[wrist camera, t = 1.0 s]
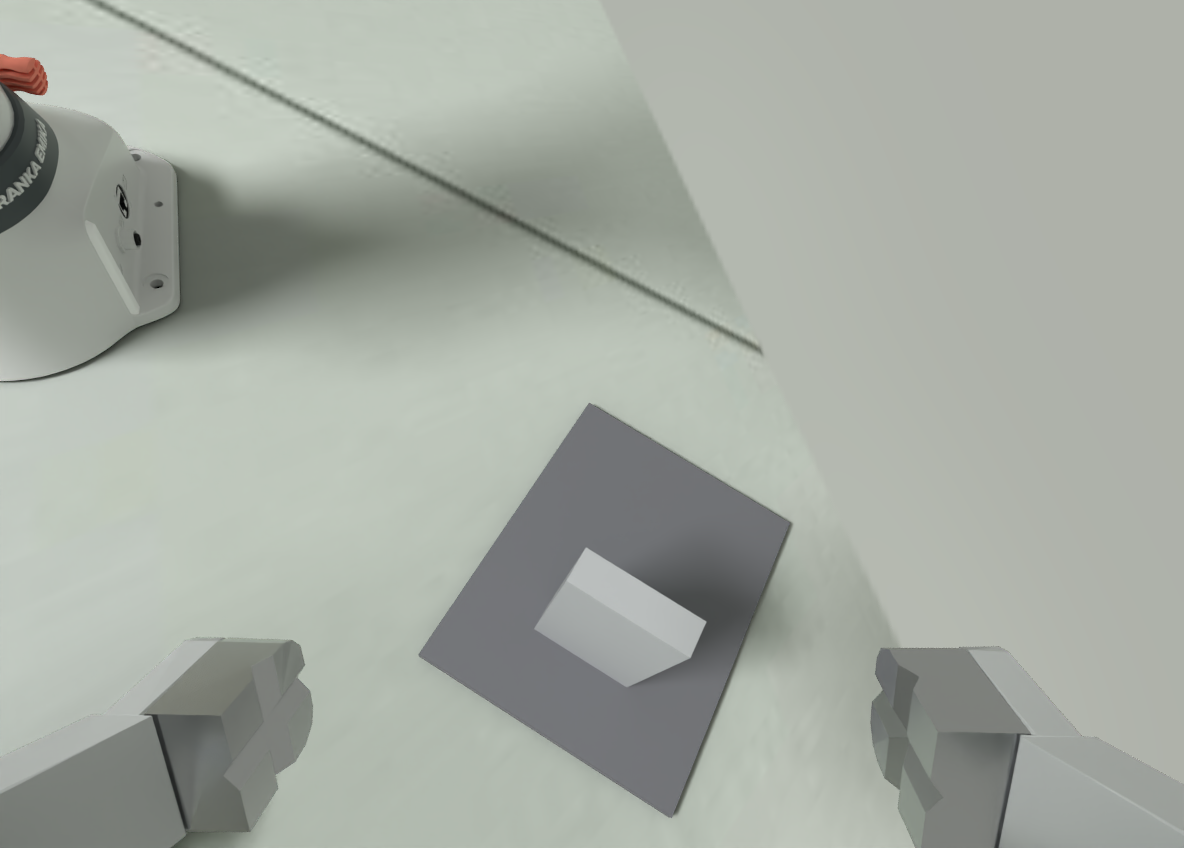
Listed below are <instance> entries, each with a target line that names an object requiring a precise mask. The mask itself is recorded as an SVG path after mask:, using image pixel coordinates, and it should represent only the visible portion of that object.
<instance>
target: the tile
mask: <svg viewBox="0 0 1184 848" xmlns="http://www.w3.org/2000/svg"><path fill="white" fill-rule="evenodd" d="M705 624H706V621H705V620H703V619H701V618H700V617H698V616H696V615H695V614H693V613H692V612H690V611H688V610H687V609H685V608H684V607H682V606H680V605H679V604H677V603H675V602H674V601H672V600H671V599H669V598H667V597H666V596H664V595H662V594H661V593H659V592H658V591H656V590H654V589H653V588H651V587H649V586H648V585H646V584H645V583H643V582H641V581H640V580H638V579H636V578H635V577H633V576H632V575H630V574H628V573H627V572H625V571H623V570H622V569H620V568H619V567H617V566H615V565H614V564H612V563H611V562H609V561H607V560H606V559H604V558H602V557H601V556H599V555H598V554H596V553H594V552H593V551H591V550H589V549H588V548H585V550H584V551H583V553H582V554H581V556H580V557H579V559H578V560H577V562H576V563H575V565H574V566H573V568H572V569H571V571H570V572H569V574H568V575H567V577H566V578H565V580H564V581H563V583H562V584H561V586H560V587H559V589H558V590H557V592H556V593H555V595H554V597H553V598H552V600H551V601H550V603H549V604H548V606H547V608H546V609H545V611H544V613H543V614H542V616H541V618H540V620H539V621H538V623H537V625H536V626H535V628H534V629H535V630H536V631H538V632H540V633H541V634H543V635H544V636H546V637H548V638H549V639H551V640H552V641H554V642H555V643H557V644H559V645H560V646H562V647H563V648H565V649H567V650H568V651H570V652H571V653H573V654H574V655H576V656H578V657H579V658H581V659H582V660H584V661H586V662H587V663H589V664H590V665H592V666H593V667H595V668H597V669H598V670H600V671H601V672H603V673H605V674H606V675H608V676H609V677H611V678H612V679H614V680H616V681H617V682H619V683H620V684H622V685H624V686H625V687H629V686H631V685H633V684H636V683H638V682H640V681H642V680H644V679H646V678H649V677H651V676H653V675H655V674H657V673H659V672H661V671H664V670H666V669H668V668H670V667H672V666H674V665H677V664H679V663H681V662H683V661H685V660H687V659H690V658H691V656H692V653H693V651H694V649H695V647H696V644H697V642H698V640H699V638H700V635H701V633H702V631H703V628H704V626H705Z"/></svg>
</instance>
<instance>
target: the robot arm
mask: <svg viewBox="0 0 1184 848" xmlns="http://www.w3.org/2000/svg"><path fill="white" fill-rule="evenodd" d="M46 79H47V75H46V72H44V68H43V66H42V65H40V62H39V61H38V60H35V58H28V57H20V58H12V57H8V56H6V55H3V54H0V381H13V380H24V379H31V378H37V377H42V376H46V375H50V374H54V373H57V372H60V371H64V370H66V369H69V368H72V367H74V366H77V365H79V364H81V363H83V362H85V361H88V360H90V359H91V358H93V357H95V356H97V355H98V354H100V353H102V352H103V351H105V350H106V349H108V348H109V347H111V346H112V345H113V344H114V343H116V342H117V341H118V340H119V339H121V338H122V337H123V336H125V335H126V334H127V333H129V332H130V331H132V330H133V329H135V328H137V327H139V326H142V325H145V324H147V323H150V322H153V321H155V320H158V319H160V318H163V317H165V316H167V315H169V314H171V313H172V312H174V311H175V310H176V309H177V308H178V306H179V303H180V281H179V239H178V198H177V176H176V172H175V170H174V169H173V167H172V165H171V164H170V163H169V162H168V161H166V160H164V159H162V158H161V157H159V156H157V155H155V154H152V153H150V152H147V151H145V150H142V149H139V148H135V147H132V146H128V145H126V144H125V142H124V141H123V139H122V138H121V136H120V135H119V134H118V132H117V131H116V130H114V129H113V128H112V127H111V126H109V125H108V124H107V123H105V122H104V121H102V120H100V119H98V118H96V117H93V116H91V115H88V114H85V113H82V112H79V111H75V110H71V109H67V108H63V107H57V106H51V105H45V104H38V103H30V102H25V101H23V100H22V99H21V98H20V97H19V96H18V95H17V94H15V93H14V91H24V92H27V93H30V94H35V95H44V94H45V93H46V92H47V88H48V81H47V80H46ZM157 286H162V287H161V288H157V289H155V288H156V287H157ZM304 666H305V663H304V659H303V655H302V651H301V647H300V645H299V644H297V643H296V642H294V641H293V640H280V639H252V638H218V637H196V638H192V639H188V640H185V641H183V642H182V643H181V644H180V645H179V646H178V647H177V648H176V649H175V650H173V651H172V652H171V653H170V654H169V655H168V656H167V657H166V658H165V659H164V660H162V661H161V662H160V663H159V664H158V665H157V666H156V667H155V668H154V669H152V670H151V671H150V672H149V673H148V674H147V675H146V676H145V677H144V678H143V679H141V680H140V681H139V682H138V683H137V684H136V685H135V686H134V687H133V688H131V689H130V690H129V691H128V692H127V693H126V694H125V695H124V696H123V697H122V698H120V699H119V700H118V701H117V702H116V703H115V704H114V705H113V706H112V707H110V708H109V709H108V710H107V711H106V712H105V713H104V714H91V715H89V716H87V717H85V718H83V719H81V720H79V721H76V722H74V723H72V724H70V725H68V726H66V727H64V728H61V729H59V730H57V731H55V732H53V733H51V734H49V735H46V736H44V737H42V738H40V739H38V740H36V741H34V742H31V743H29V744H27V745H25V746H23V747H21V748H19V749H16V750H14V751H12V752H10V753H8V754H6V755H4V756H1V757H0V848H171V847H172V846H173V845H175V844H176V843H177V842H178V841H180V840H181V839H182V838H184V837H185V836H186V832H250V831H251V830H252V828H253V827H254V825H255V824H256V822H257V820H258V819H259V817H260V816H261V814H262V813H263V811H264V810H265V808H266V807H267V805H268V803H269V802H270V800H271V799H272V797H273V796H274V794H275V793H276V791H277V790H278V785H277V778H276V774H278V773H279V772H281V771H282V770H284V769H285V768H287V767H288V766H290V765H291V764H293V763H294V762H295V761H296V760H297V758H298V757H299V755H300V753H301V752H302V750H303V748H304V747H305V745H306V742H307V739H308V736H309V732H310V729H311V726H312V718H313V704H312V698H311V693H310V690H309V689H308V688H307V687H306V686H305V685H304V684H303V683H302V682H301V681H300V680H299V679H298V676H299V674H300V673H301V671H302V669H303V668H304ZM875 675H876V677H877V679H878V681H879V683H880V685H881V687H882V688H883V691H882V692H881V693H880V694H879V695H878V696H877V697H876V698H875V699H874V700H873V701H872V710H871V731H872V740H873V747H874V750H875V754H876V757H877V761H878V764H879V766H880V768H881V771H882V773H883V776H884V778H885V779H886V780H888V781H889V782H890V783H891V784H893V785H894V786H895V787H896V788H898V789H899V790H900V793H899V802H898V810H899V812H900V814H901V817H902V819H903V821H904V823H905V825H906V828H907V830H908V832H909V834H910V837H911V839H912V841H913V843H914V846H915V848H1184V784H1182V783H1180V782H1179V781H1177V780H1175V779H1173V778H1171V777H1169V776H1167V775H1166V774H1164V773H1162V772H1160V771H1158V770H1156V769H1154V768H1153V767H1151V766H1149V765H1147V764H1145V763H1143V762H1141V761H1140V760H1138V759H1136V758H1134V757H1132V756H1130V755H1129V754H1126V753H1125V752H1123V751H1121V750H1119V749H1117V748H1116V747H1114V746H1112V745H1110V744H1108V743H1106V742H1104V741H1102V740H1101V739H1099V738H1097V737H1082V735H1081V734H1080V733H1079V732H1078V731H1077V730H1076V729H1075V727H1074V726H1073V725H1072V724H1071V723H1070V722H1069V721H1068V719H1067V718H1066V717H1065V716H1064V715H1063V714H1062V713H1061V711H1060V710H1059V709H1058V708H1057V707H1056V706H1055V704H1054V703H1053V702H1052V701H1051V700H1050V699H1049V697H1048V696H1047V695H1046V694H1045V693H1044V692H1043V691H1042V689H1041V688H1040V687H1039V686H1038V685H1037V684H1036V683H1035V681H1034V680H1033V679H1032V678H1031V677H1030V676H1029V675H1028V673H1027V672H1026V671H1025V670H1024V669H1023V668H1022V666H1021V665H1020V664H1019V663H1018V662H1017V661H1016V660H1015V658H1014V657H1013V656H1012V655H1011V654H1010V653H1009V652H1008V651H1007V650H1005V649H1003V648H1001V647H999V646H998V647H959V648H881V650H880V652H879V654H878V657H877V663H876V671H875Z"/></svg>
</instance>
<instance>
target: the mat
mask: <svg viewBox="0 0 1184 848" xmlns="http://www.w3.org/2000/svg"><path fill="white" fill-rule="evenodd" d="M789 524H790V522H788V521H786V520H785V519H783V518H781V517H780V516H778V515H776V514H775V513H773V512H771V511H770V510H768V509H766V508H765V507H763V506H761V505H760V504H758V503H756V502H755V501H753V500H751V499H750V498H748V497H746V496H745V495H743V494H741V493H740V492H738V491H736V490H734V489H733V488H731V487H729V486H728V485H726V484H724V483H723V482H721V481H719V480H718V479H716V478H714V477H713V476H711V475H709V474H708V473H706V472H704V471H703V470H701V469H699V468H698V467H696V466H694V465H693V464H691V463H689V462H688V461H686V460H684V459H683V458H681V457H679V456H678V455H676V454H674V453H673V452H671V451H669V450H668V449H666V448H664V447H663V446H661V445H659V444H658V443H656V442H654V441H653V440H651V439H649V438H647V437H646V436H644V435H642V434H641V433H639V432H637V431H636V430H634V429H632V428H631V427H629V426H627V425H626V424H624V423H622V422H621V421H619V420H617V419H616V418H614V417H612V416H611V415H609V414H607V413H606V412H604V411H602V410H601V409H599V408H597V407H596V406H594V405H592V404H591V403H589V404H588V405H587V407H586V408H585V410H584V411H583V413H582V414H581V416H580V417H579V419H578V420H577V422H576V423H575V424H574V426H573V427H572V429H571V430H570V432H569V433H568V435H567V436H566V438H565V439H564V441H563V442H562V444H561V445H560V447H559V448H558V450H557V451H556V452H555V454H554V455H553V457H552V458H551V460H550V461H549V463H548V464H547V466H546V467H545V469H544V470H543V472H542V473H541V475H540V476H539V478H538V479H537V481H536V482H535V483H534V485H533V486H532V488H531V489H530V491H529V492H528V494H527V495H526V497H525V498H524V500H523V501H522V503H521V504H520V506H519V507H518V509H517V510H516V512H515V513H514V514H513V516H512V517H511V519H510V520H509V522H508V523H507V525H506V526H505V528H504V529H503V531H502V532H501V534H500V535H499V537H498V538H497V540H496V541H495V542H494V544H493V545H492V547H491V548H490V550H489V551H488V553H487V554H486V556H485V557H484V559H483V560H482V562H481V563H480V565H479V566H478V568H477V569H476V571H475V572H474V573H473V575H472V576H471V578H470V579H469V581H468V582H467V584H466V585H465V587H464V588H463V590H462V591H461V593H460V594H459V596H458V597H457V599H456V600H455V602H454V603H453V604H452V606H451V607H450V609H449V610H448V612H447V613H446V615H445V616H444V618H443V619H442V621H441V622H440V624H439V625H438V627H437V628H436V630H435V631H434V632H433V634H432V635H431V637H430V638H429V640H428V641H427V643H426V644H425V646H424V647H423V649H422V650H421V652H420V653H419V657H421V658H422V659H424V660H426V661H427V662H429V663H430V664H432V665H433V666H435V667H436V668H438V669H440V670H441V671H443V672H444V673H446V674H447V675H449V676H450V677H452V678H454V679H455V680H457V681H458V682H460V683H461V684H463V685H464V686H466V687H467V688H469V689H471V690H472V691H474V692H475V693H477V694H478V695H480V696H481V697H483V698H485V699H486V700H488V701H489V702H491V703H492V704H494V705H495V706H497V707H499V708H500V709H502V710H503V711H505V712H506V713H508V714H509V715H511V716H512V717H514V718H516V719H517V720H519V721H520V722H522V723H523V724H525V725H526V726H528V727H530V728H531V729H533V730H534V731H536V732H537V733H539V734H540V735H542V736H544V737H545V738H547V739H548V740H550V741H551V742H553V743H554V744H556V745H557V746H559V747H561V748H562V749H564V750H565V751H567V752H568V753H570V754H571V755H573V756H575V757H576V758H578V759H579V760H581V761H582V762H584V763H585V764H587V765H588V766H590V767H592V768H593V769H595V770H596V771H598V772H599V773H601V774H602V775H604V776H606V777H607V778H609V779H610V780H612V781H613V782H615V783H616V784H618V785H620V786H621V787H623V788H624V789H626V790H627V791H629V792H630V793H632V794H633V795H635V796H637V797H638V798H640V799H641V800H643V801H644V802H646V803H647V804H649V805H651V806H652V807H654V808H655V809H657V810H658V811H660V812H661V813H663V814H665V815H666V816H668V817H671V818H672V816H673V813H674V811H675V809H676V806H677V804H678V801H679V799H680V796H681V794H682V791H683V789H684V786H685V784H686V781H687V779H688V776H689V774H690V771H691V769H692V766H693V764H694V761H695V759H696V756H697V754H698V751H699V749H700V746H701V744H702V741H703V739H704V736H705V734H706V731H707V729H708V726H709V724H710V721H711V719H712V716H713V714H714V711H715V709H716V706H717V704H718V701H719V699H720V696H721V694H722V691H723V689H724V686H725V684H726V681H727V679H728V676H729V674H730V671H731V669H732V666H733V664H734V661H735V659H736V656H737V654H738V651H739V649H740V646H741V644H742V641H743V639H744V636H745V634H746V631H747V629H748V626H749V624H750V621H751V619H752V616H753V614H754V611H755V609H756V606H757V604H758V601H759V599H760V596H761V594H762V591H763V589H764V586H765V584H766V581H767V579H768V576H769V574H770V571H771V569H772V566H773V564H774V561H775V559H776V557H777V554H778V552H779V549H780V547H781V544H782V542H783V539H784V537H785V534H786V532H787V529H788V527H789ZM585 548H588V549H589V550H591V551H593V552H594V553H596V554H598V555H599V556H601V557H602V558H604V559H606V560H607V561H609V562H611V563H612V564H614V565H615V566H617V567H619V568H620V569H622V570H623V571H625V572H627V573H628V574H630V575H632V576H633V577H635V578H636V579H638V580H640V581H641V582H643V583H645V584H646V585H648V586H649V587H651V588H653V589H654V590H656V591H658V592H659V593H661V594H662V595H664V596H666V597H667V598H669V599H671V600H672V601H674V602H675V603H677V604H679V605H680V606H682V607H684V608H685V609H687V610H688V611H690V612H692V613H693V614H695V615H696V616H698V617H700V618H701V619H703V620H705V621H706V624H705V626H704V628H703V631H702V633H701V635H700V638H699V640H698V642H697V644H696V647H695V649H694V651H693V653H692V656H691V658H690V659H687V660H685V661H683V662H681V663H679V664H677V665H674V666H672V667H670V668H668V669H666V670H664V671H661V672H659V673H657V674H655V675H653V676H651V677H649V678H646V679H644V680H642V681H640V682H638V683H636V684H633V685H631V686H629V687H625V686H624V685H622V684H620V683H619V682H617V681H616V680H614V679H612V678H611V677H609V676H608V675H606V674H605V673H603V672H601V671H600V670H598V669H597V668H595V667H593V666H592V665H590V664H589V663H587V662H586V661H584V660H582V659H581V658H579V657H578V656H576V655H574V654H573V653H571V652H570V651H568V650H567V649H565V648H563V647H562V646H560V645H559V644H557V643H555V642H554V641H552V640H551V639H549V638H548V637H546V636H544V635H543V634H541V633H540V632H538V631H536V630H535V629H534V628H535V626H536V625H537V623H538V621H539V620H540V618H541V616H542V614H543V613H544V611H545V609H546V608H547V606H548V604H549V603H550V601H551V600H552V598H553V597H554V595H555V593H556V592H557V590H558V589H559V587H560V586H561V584H562V583H563V581H564V580H565V578H566V577H567V575H568V574H569V572H570V571H571V569H572V568H573V566H574V565H575V563H576V562H577V560H578V559H579V557H580V556H581V554H582V553H583V551H584V550H585Z"/></svg>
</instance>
